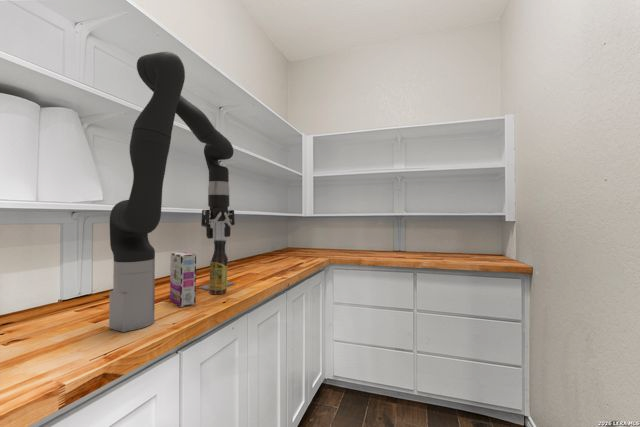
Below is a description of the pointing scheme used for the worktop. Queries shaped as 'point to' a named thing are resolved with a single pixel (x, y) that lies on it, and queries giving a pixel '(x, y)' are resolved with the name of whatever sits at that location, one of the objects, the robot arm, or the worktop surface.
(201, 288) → the rubber mat
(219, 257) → the sauce bottle
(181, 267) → the candy bar box
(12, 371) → the worktop surface
